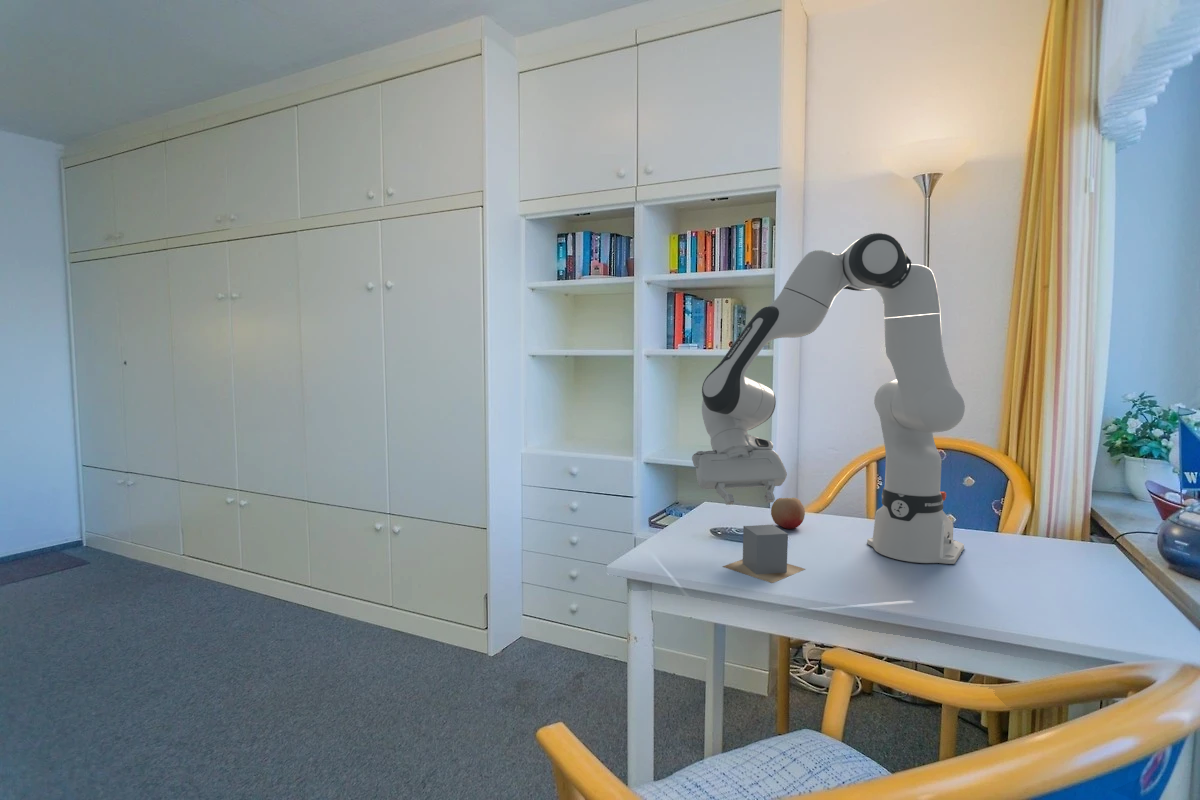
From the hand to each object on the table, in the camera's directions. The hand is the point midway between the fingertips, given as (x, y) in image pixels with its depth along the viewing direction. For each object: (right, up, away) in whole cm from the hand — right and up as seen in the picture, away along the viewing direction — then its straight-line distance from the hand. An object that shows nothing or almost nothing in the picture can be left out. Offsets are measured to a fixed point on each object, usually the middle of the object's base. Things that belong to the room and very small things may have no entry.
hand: (750, 502), depth 135 cm
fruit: (+15, -11, +25) cm, 31 cm away
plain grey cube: (+1, -13, -6) cm, 14 cm away
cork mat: (+1, -13, -6) cm, 14 cm away
